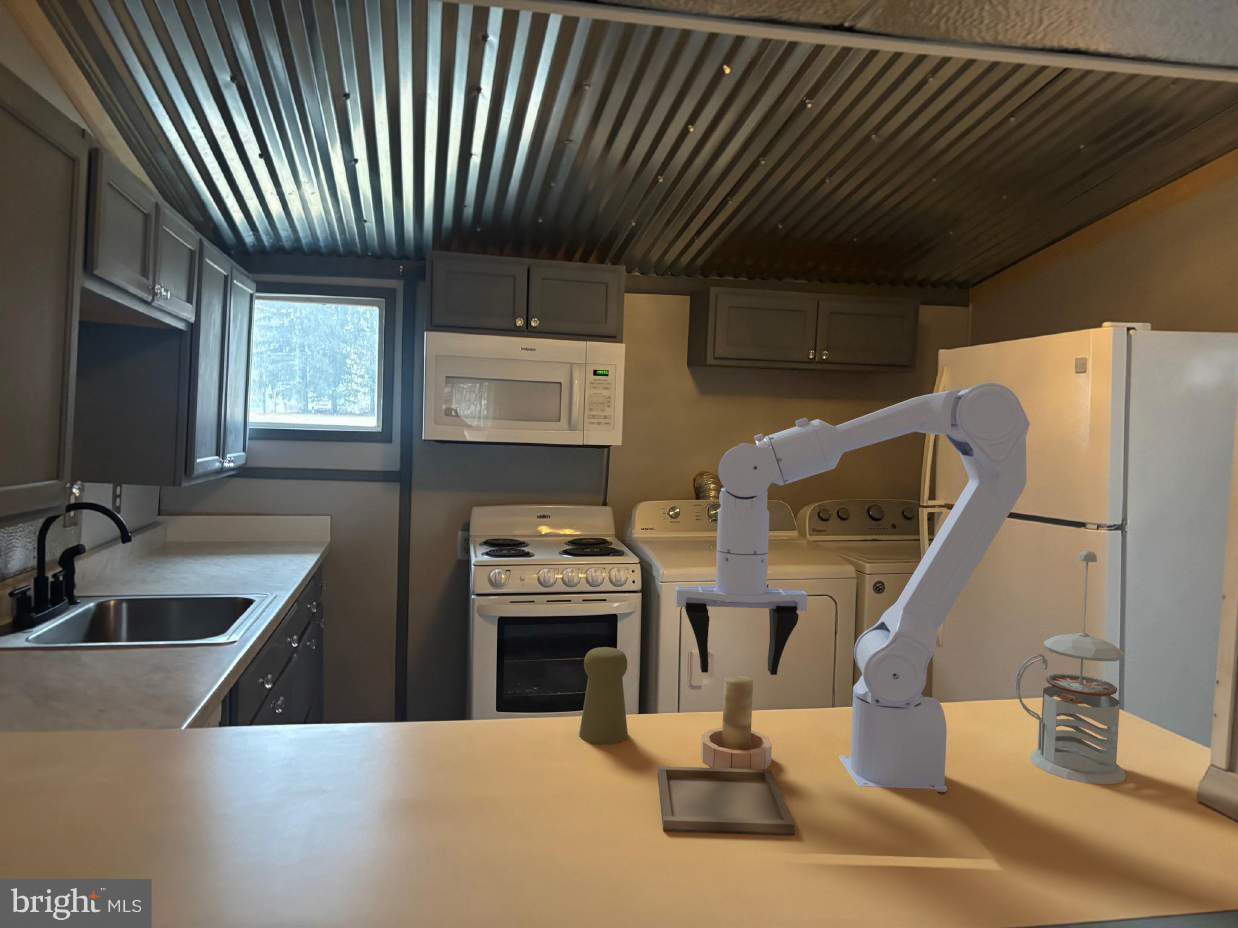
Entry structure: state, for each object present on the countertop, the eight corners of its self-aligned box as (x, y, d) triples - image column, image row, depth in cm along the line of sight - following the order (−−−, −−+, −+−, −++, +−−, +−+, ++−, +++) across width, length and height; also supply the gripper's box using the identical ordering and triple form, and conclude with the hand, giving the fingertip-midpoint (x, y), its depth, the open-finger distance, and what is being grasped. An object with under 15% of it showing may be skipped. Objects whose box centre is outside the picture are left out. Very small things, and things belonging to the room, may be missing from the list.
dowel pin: (747, 753, 92) (750, 675, 92) (752, 765, 89) (755, 684, 89) (719, 752, 92) (722, 675, 92) (723, 764, 89) (726, 683, 89)
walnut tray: (770, 784, 86) (770, 769, 86) (794, 841, 74) (794, 824, 74) (657, 780, 86) (657, 765, 86) (662, 837, 74) (663, 819, 74)
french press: (1137, 790, 87) (1150, 560, 86) (1018, 772, 91) (1029, 552, 90) (1114, 756, 96) (1125, 548, 95) (1007, 741, 100) (1017, 541, 99)
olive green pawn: (630, 732, 99) (633, 644, 99) (626, 751, 93) (629, 657, 93) (582, 729, 100) (584, 641, 100) (574, 747, 94) (577, 654, 94)
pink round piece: (763, 751, 94) (764, 728, 94) (775, 779, 87) (776, 754, 87) (698, 749, 94) (699, 726, 94) (705, 777, 87) (706, 751, 87)
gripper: (799, 548, 94) (795, 663, 95) (675, 544, 95) (672, 658, 95) (813, 557, 87) (808, 681, 88) (679, 553, 88) (675, 676, 88)
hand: (738, 671), depth 91 cm, fingers open, 7 cm apart
